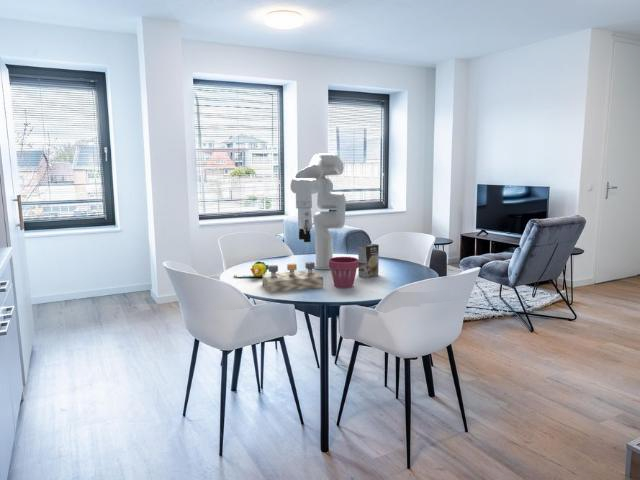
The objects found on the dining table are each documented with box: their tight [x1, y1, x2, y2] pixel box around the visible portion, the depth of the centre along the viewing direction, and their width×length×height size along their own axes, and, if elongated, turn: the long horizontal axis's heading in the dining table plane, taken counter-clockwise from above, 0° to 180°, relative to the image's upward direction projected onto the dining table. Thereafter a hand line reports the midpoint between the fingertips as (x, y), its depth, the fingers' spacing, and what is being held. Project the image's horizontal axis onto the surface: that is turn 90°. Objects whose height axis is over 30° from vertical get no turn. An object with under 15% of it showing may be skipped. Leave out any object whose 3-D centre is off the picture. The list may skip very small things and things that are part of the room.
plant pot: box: [329, 256, 359, 289], centre depth 226 cm, size 14×14×13 cm
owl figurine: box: [233, 261, 270, 278], centre depth 250 cm, size 28×9×15 cm
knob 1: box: [268, 264, 279, 278], centre depth 225 cm, size 4×4×6 cm
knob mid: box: [286, 263, 298, 277], centre depth 228 cm, size 4×4×6 cm
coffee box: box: [357, 243, 380, 279], centre depth 246 cm, size 9×6×16 cm
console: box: [261, 269, 324, 293], centre depth 229 cm, size 26×16×5 cm, turn 107°
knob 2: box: [304, 261, 316, 275], centre depth 231 cm, size 4×4×6 cm
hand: (304, 240), depth 230 cm, fingers open, 9 cm apart
